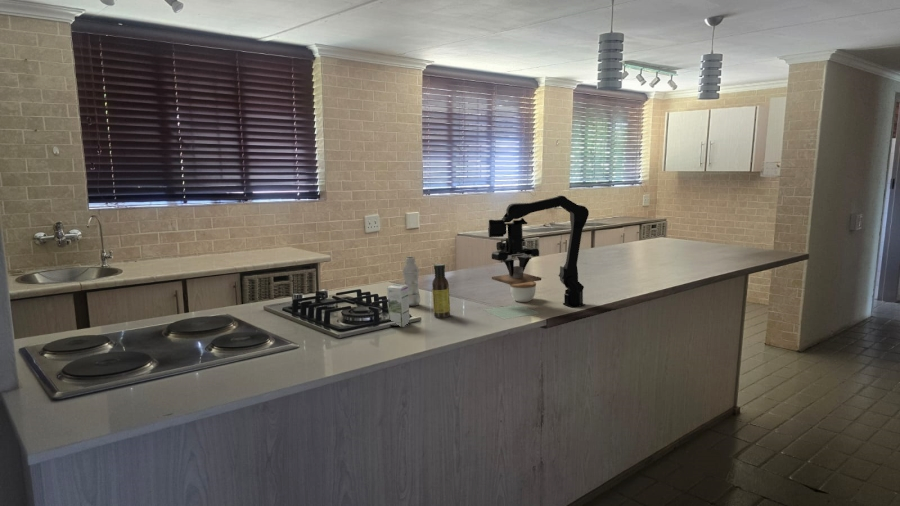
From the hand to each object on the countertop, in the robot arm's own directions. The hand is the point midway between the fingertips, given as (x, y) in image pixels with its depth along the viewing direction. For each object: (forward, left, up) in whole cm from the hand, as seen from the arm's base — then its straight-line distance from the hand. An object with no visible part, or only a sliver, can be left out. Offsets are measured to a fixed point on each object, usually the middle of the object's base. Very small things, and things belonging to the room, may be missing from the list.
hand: (516, 275), depth 226 cm
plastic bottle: (+34, -26, -13) cm, 45 cm away
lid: (0, 0, -2) cm, 2 cm away
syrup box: (+49, 0, -13) cm, 51 cm away
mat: (+6, +6, -13) cm, 15 cm away
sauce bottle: (+31, -3, -13) cm, 34 cm away
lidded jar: (-8, -8, -13) cm, 17 cm away
